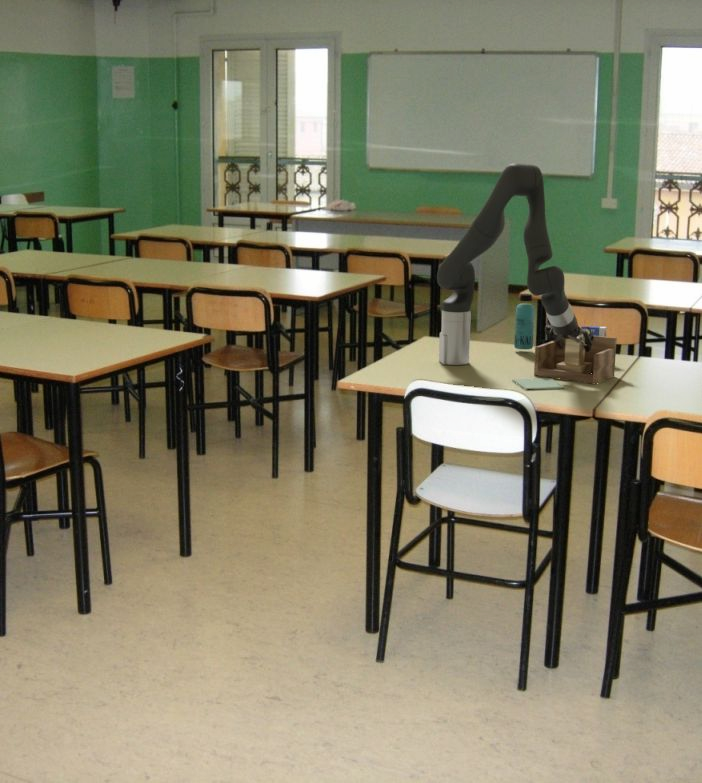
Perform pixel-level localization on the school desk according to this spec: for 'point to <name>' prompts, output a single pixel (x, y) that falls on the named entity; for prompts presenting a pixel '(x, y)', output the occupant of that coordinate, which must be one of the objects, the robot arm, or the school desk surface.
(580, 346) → the beech block
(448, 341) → the robot arm
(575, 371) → the walnut cubby
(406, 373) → the school desk surface
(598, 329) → the walkman
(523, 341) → the beverage bottle
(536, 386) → the rubber mat
